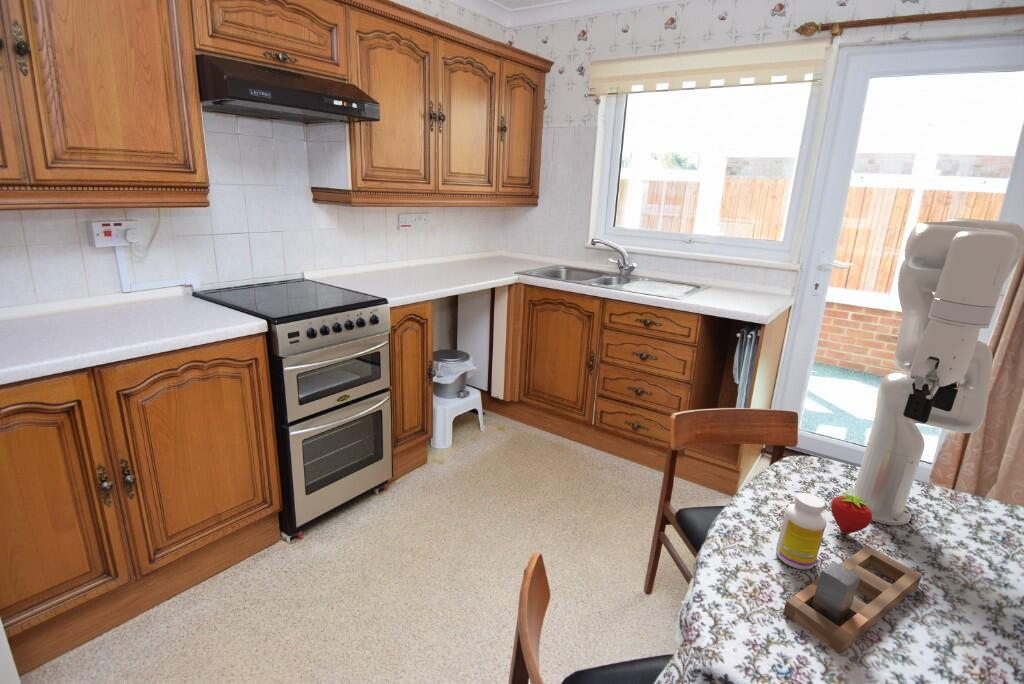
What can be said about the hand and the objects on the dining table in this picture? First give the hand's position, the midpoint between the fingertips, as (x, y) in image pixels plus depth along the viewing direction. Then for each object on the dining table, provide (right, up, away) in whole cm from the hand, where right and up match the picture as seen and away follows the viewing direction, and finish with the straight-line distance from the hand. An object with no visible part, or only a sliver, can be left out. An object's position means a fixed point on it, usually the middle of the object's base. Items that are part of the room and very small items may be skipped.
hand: (927, 413), depth 88 cm
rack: (-10, -32, +3) cm, 34 cm away
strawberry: (0, -27, +21) cm, 35 cm away
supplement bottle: (-15, -29, +13) cm, 35 cm away
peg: (-17, -33, -2) cm, 37 cm away
